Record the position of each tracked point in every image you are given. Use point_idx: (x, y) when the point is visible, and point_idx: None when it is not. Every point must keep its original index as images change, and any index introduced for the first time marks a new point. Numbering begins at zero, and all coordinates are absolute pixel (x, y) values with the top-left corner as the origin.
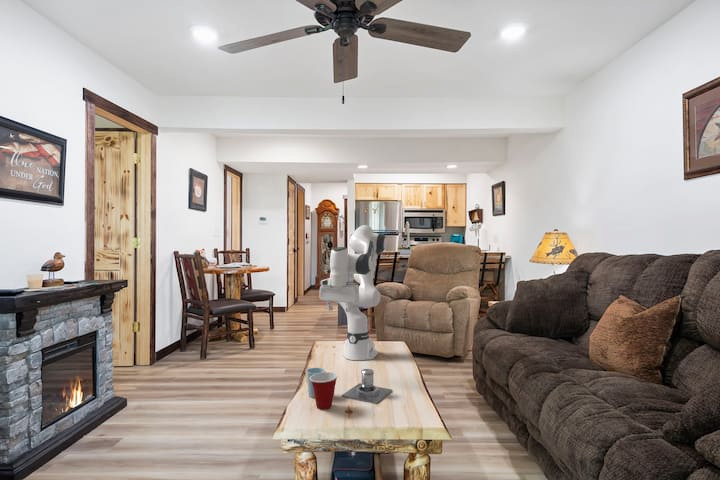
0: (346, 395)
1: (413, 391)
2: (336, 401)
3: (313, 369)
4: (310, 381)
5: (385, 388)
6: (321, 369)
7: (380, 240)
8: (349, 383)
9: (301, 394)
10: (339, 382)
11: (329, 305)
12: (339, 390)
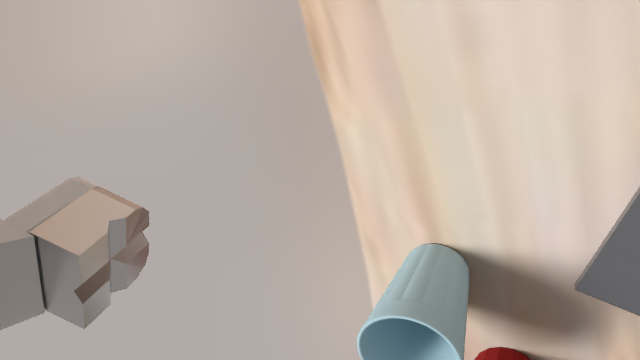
0: (605, 292)
1: None
2: (555, 329)
3: (383, 315)
4: (404, 351)
5: None
6: (431, 324)
7: None
8: (611, 89)
9: (369, 254)
10: (533, 80)
11: (2, 304)
12: (552, 206)
